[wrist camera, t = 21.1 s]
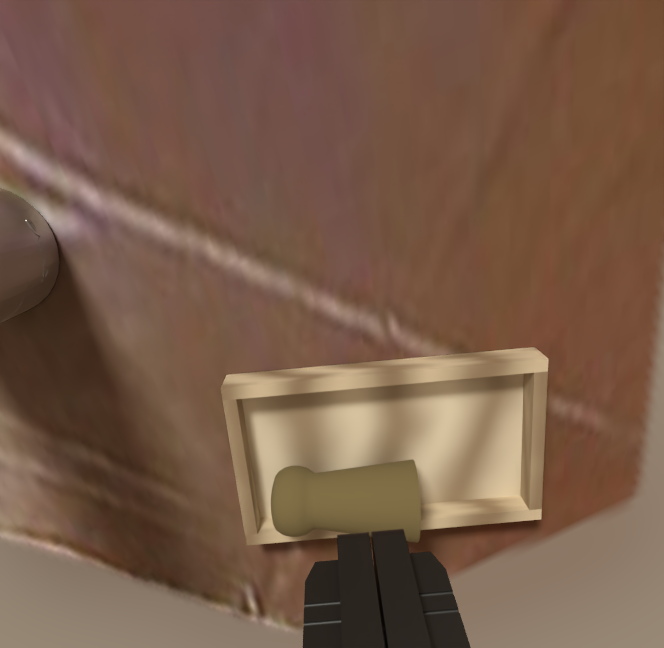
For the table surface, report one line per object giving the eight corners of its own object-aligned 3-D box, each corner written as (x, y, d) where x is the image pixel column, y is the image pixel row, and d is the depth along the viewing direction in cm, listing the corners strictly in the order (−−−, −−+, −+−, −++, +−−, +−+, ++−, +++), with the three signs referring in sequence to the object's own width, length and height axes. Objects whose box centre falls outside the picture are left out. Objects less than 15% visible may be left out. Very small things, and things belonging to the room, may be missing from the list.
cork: (415, 447, 38) (269, 448, 38) (423, 532, 34) (263, 533, 34) (408, 473, 43) (279, 474, 43) (414, 550, 39) (274, 550, 39)
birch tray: (250, 524, 43) (246, 545, 41) (226, 374, 39) (220, 388, 36) (528, 499, 43) (541, 519, 40) (534, 347, 39) (548, 358, 36)
